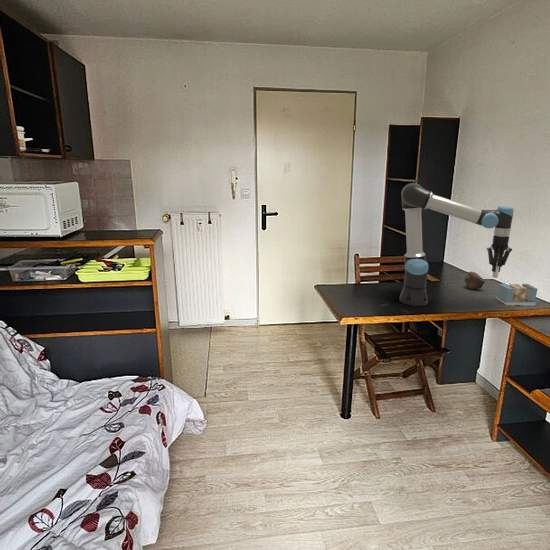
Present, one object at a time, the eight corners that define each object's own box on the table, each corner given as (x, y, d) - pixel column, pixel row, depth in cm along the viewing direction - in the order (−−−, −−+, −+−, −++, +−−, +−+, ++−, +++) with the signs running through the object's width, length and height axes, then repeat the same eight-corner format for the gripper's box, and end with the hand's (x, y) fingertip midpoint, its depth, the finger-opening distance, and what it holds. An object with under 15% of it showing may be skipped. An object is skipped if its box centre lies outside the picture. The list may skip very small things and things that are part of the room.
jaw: (505, 301, 221) (508, 288, 219) (497, 296, 230) (499, 283, 228) (512, 301, 221) (514, 288, 219) (503, 296, 230) (505, 284, 227)
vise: (506, 305, 221) (509, 289, 218) (495, 298, 231) (498, 283, 228) (535, 305, 220) (538, 289, 218) (523, 299, 231) (526, 283, 228)
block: (514, 302, 221) (517, 288, 219) (507, 297, 229) (509, 284, 227) (523, 302, 221) (526, 288, 219) (515, 297, 229) (518, 284, 227)
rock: (489, 284, 242) (479, 276, 239) (476, 296, 246) (466, 288, 242) (477, 274, 253) (468, 266, 249) (465, 285, 256) (456, 278, 253)
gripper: (492, 236, 212) (486, 279, 218) (517, 236, 212) (510, 279, 218) (485, 234, 219) (479, 275, 226) (509, 234, 219) (503, 275, 225)
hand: (494, 277), depth 222 cm, fingers closed
